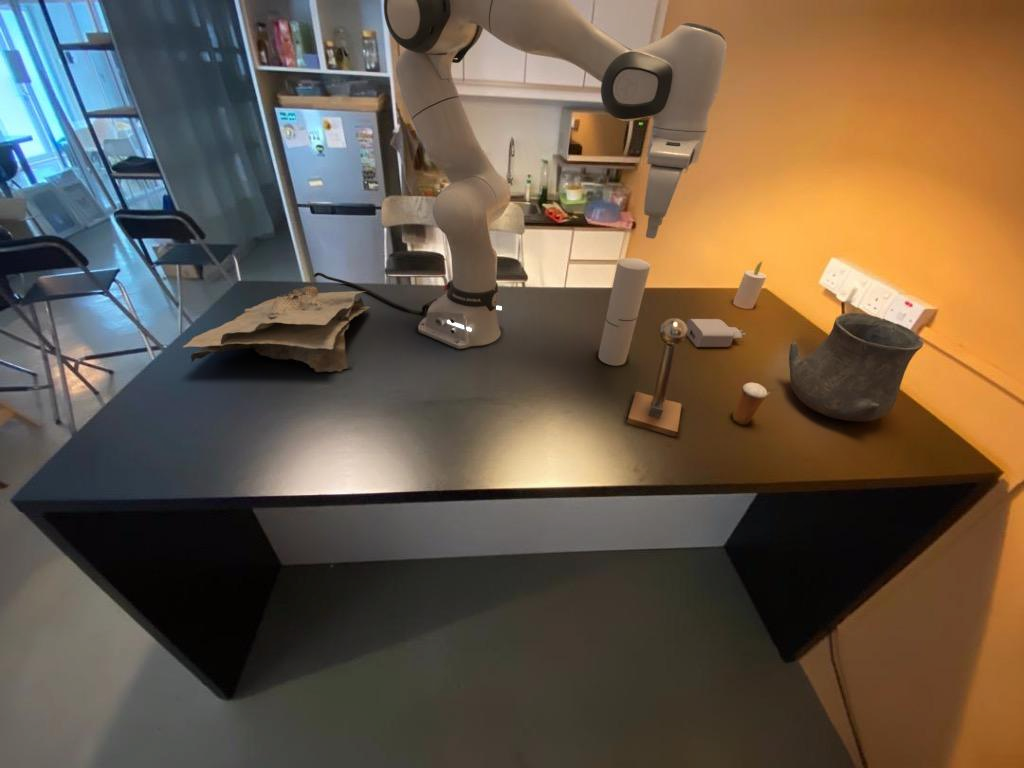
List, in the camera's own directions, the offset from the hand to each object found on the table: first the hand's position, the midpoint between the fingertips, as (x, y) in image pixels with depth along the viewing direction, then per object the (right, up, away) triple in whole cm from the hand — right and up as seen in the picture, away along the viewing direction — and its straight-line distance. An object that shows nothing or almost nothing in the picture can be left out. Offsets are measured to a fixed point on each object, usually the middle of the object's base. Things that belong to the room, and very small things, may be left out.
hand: (653, 230), depth 81 cm
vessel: (+47, -34, +18) cm, 61 cm away
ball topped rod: (+1, -26, +4) cm, 26 cm away
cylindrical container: (-1, -23, +29) cm, 37 cm away
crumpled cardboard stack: (-82, -19, +27) cm, 88 cm away
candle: (+49, -3, +60) cm, 77 cm away
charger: (+31, -17, +39) cm, 52 cm away
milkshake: (+23, -37, +11) cm, 45 cm away
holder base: (+4, -36, +11) cm, 38 cm away
